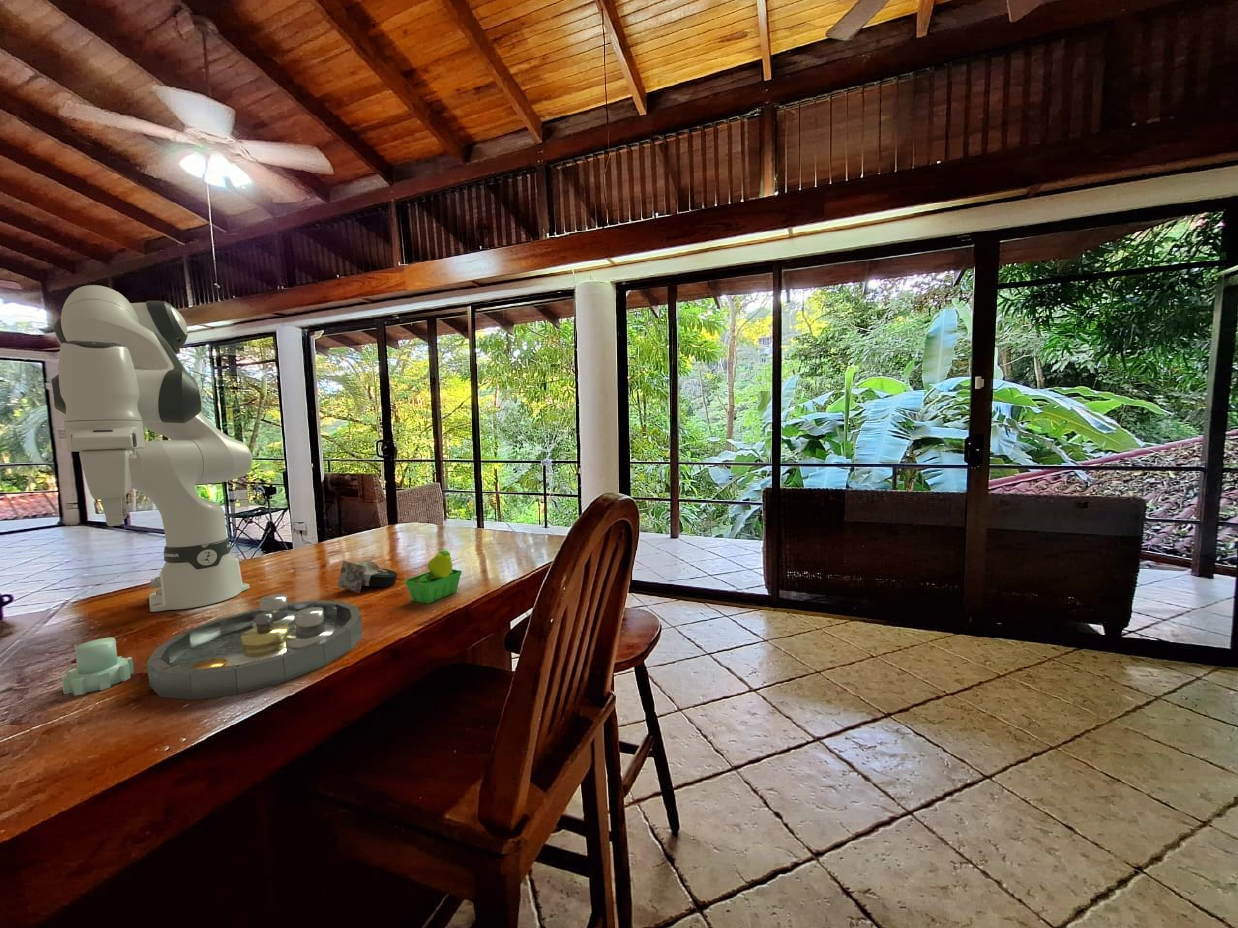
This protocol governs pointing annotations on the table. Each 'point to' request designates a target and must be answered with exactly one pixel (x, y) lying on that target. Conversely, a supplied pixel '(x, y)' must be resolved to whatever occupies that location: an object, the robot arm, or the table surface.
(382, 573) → the caster wheel
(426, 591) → the fruit basket
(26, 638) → the table surface
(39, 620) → the table surface
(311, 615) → the tray
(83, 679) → the planet gear
